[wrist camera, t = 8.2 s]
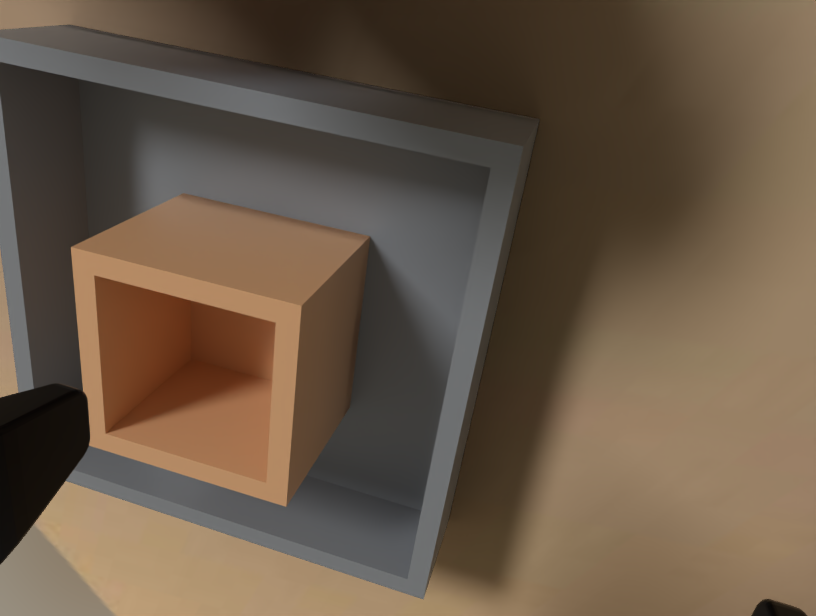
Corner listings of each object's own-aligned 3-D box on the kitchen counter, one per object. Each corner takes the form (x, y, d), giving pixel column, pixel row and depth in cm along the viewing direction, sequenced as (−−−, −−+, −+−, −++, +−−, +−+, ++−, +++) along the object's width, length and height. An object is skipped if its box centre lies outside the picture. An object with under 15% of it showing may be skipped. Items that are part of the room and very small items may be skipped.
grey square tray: (539, 118, 18) (523, 146, 15) (447, 522, 24) (423, 599, 21) (69, 24, 21) (-27, 31, 18) (95, 413, 27) (28, 468, 24)
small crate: (370, 236, 20) (301, 305, 16) (350, 407, 23) (286, 506, 19) (183, 193, 21) (70, 247, 17) (184, 361, 24) (87, 445, 20)
